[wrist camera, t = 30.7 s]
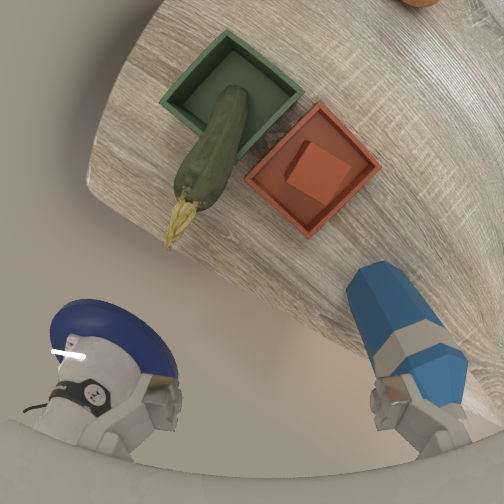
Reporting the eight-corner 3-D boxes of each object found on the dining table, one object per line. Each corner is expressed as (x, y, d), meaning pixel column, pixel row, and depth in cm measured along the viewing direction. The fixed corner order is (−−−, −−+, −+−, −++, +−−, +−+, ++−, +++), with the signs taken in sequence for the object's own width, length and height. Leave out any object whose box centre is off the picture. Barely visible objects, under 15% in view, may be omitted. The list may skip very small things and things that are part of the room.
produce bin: (239, 159, 35) (233, 166, 29) (176, 106, 33) (158, 102, 27) (298, 98, 32) (305, 91, 26) (233, 44, 29) (226, 28, 23)
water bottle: (332, 289, 41) (381, 446, 18) (385, 247, 38) (485, 380, 15) (366, 327, 43) (417, 469, 20) (414, 291, 41) (497, 417, 18)
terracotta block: (318, 196, 36) (326, 206, 31) (283, 175, 35) (285, 182, 30) (340, 161, 34) (351, 167, 29) (305, 139, 33) (310, 140, 28)
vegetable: (248, 67, 27) (168, 231, 20) (271, 95, 30) (211, 259, 23) (218, 82, 30) (137, 237, 23) (241, 107, 33) (177, 261, 26)
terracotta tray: (305, 231, 38) (308, 239, 35) (245, 175, 36) (243, 179, 33) (374, 164, 34) (382, 167, 31) (315, 103, 32) (320, 101, 29)
